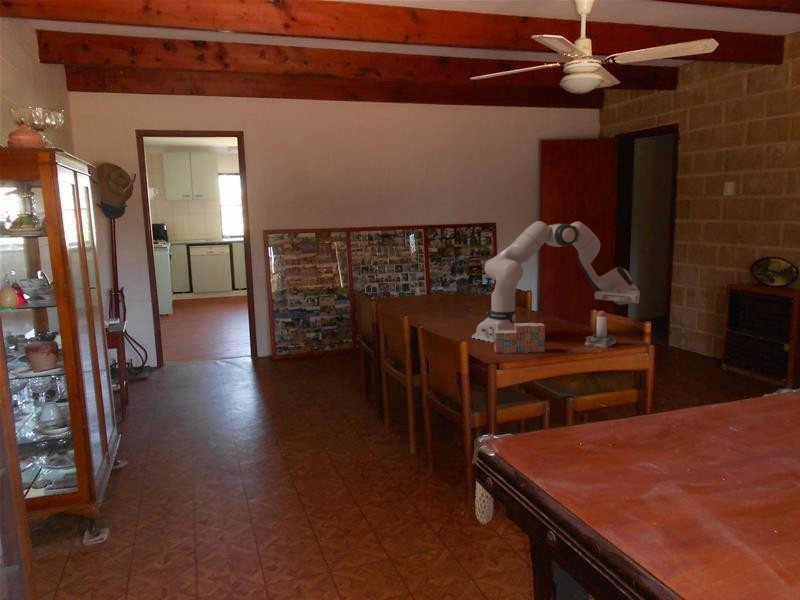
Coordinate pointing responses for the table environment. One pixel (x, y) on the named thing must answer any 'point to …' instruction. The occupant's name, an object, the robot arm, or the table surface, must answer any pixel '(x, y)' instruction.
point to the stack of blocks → (520, 339)
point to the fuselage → (601, 325)
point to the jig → (600, 341)
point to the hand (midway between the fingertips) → (611, 298)
